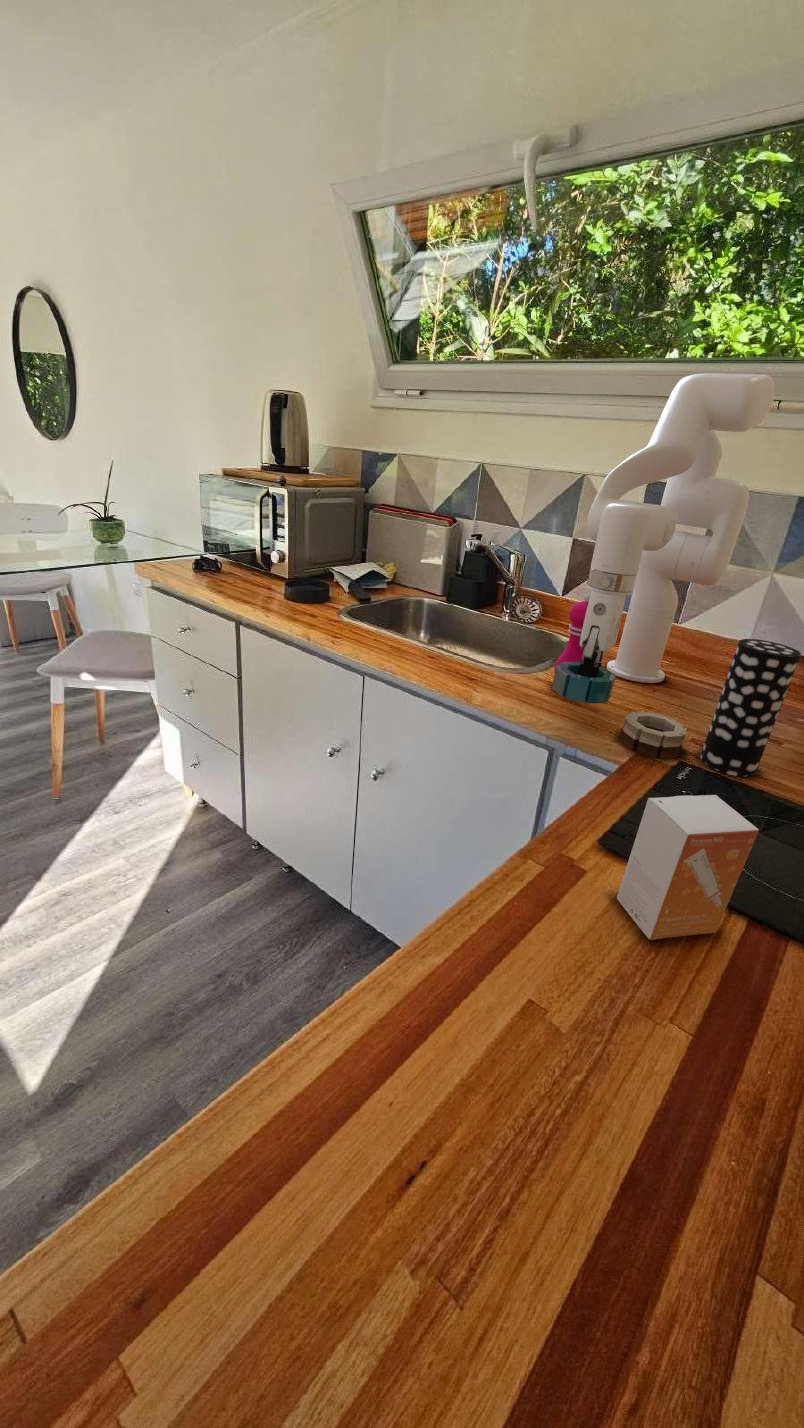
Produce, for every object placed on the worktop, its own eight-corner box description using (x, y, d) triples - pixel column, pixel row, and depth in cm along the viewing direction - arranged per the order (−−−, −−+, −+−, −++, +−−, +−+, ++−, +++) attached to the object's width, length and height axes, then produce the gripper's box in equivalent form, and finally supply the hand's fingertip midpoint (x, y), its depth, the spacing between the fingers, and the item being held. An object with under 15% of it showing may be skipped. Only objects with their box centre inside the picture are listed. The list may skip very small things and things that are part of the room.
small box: (649, 943, 59) (687, 834, 53) (614, 898, 64) (646, 796, 59) (718, 934, 61) (761, 829, 55) (678, 892, 66) (715, 792, 61)
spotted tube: (750, 758, 100) (793, 645, 92) (760, 781, 93) (808, 660, 84) (697, 747, 102) (734, 635, 94) (703, 768, 95) (744, 649, 87)
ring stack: (625, 727, 107) (630, 706, 106) (681, 742, 103) (688, 721, 102) (615, 746, 99) (621, 725, 98) (676, 764, 96) (684, 741, 94)
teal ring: (560, 678, 110) (565, 658, 108) (613, 691, 106) (619, 670, 104) (546, 693, 102) (551, 671, 100) (603, 708, 98) (609, 685, 97)
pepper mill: (587, 699, 118) (611, 600, 110) (550, 693, 119) (571, 595, 111) (584, 687, 124) (607, 592, 116) (549, 681, 125) (569, 587, 117)
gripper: (626, 593, 92) (598, 702, 99) (640, 579, 105) (615, 677, 112) (577, 584, 95) (554, 691, 102) (597, 572, 108) (575, 668, 115)
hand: (586, 683), depth 107 cm, fingers closed on teal ring, 2 cm apart
